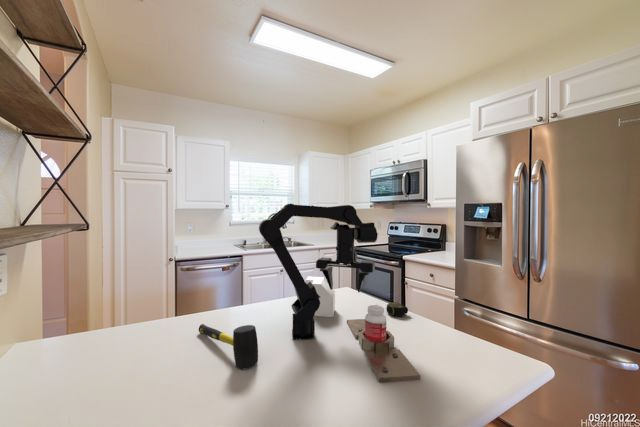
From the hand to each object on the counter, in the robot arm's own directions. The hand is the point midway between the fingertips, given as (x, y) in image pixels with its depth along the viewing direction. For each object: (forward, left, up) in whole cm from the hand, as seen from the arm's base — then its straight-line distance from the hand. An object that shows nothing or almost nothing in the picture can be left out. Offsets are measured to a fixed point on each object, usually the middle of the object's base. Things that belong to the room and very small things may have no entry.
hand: (345, 290), depth 90 cm
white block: (-6, +18, -13) cm, 23 cm away
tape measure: (+23, +12, -13) cm, 29 cm away
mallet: (-37, -8, -14) cm, 40 cm away
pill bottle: (+7, -11, -13) cm, 18 cm away
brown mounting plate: (+7, -11, -13) cm, 18 cm away
